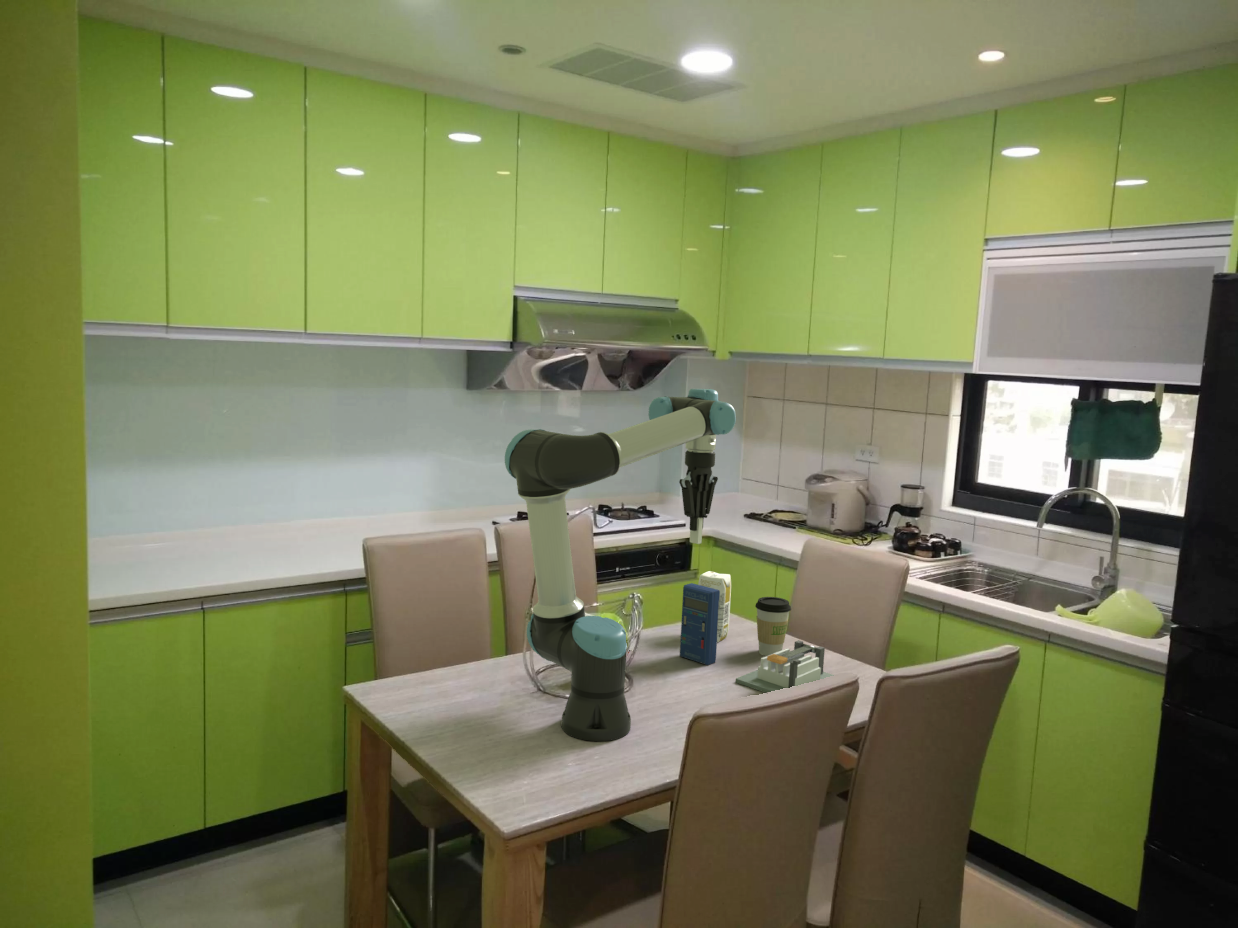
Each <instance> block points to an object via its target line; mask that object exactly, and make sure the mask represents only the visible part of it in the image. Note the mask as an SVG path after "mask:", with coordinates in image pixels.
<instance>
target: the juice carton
mask: <svg viewBox="0 0 1238 928" xmlns="http://www.w3.org/2000/svg"><path fill="white" fill-rule="evenodd" d="M731 578H732V577H731V574H730V573H718V572H715V571H711V570H709V571H706V572H704V573H702V574H699V579H698V583H697V585H701V586H705V587H709V588H713V589H717V590H719V591H720V597H719V607H718V625H717V643H720V642H721V641H723V640H725V639H726V638H727V637H728V633H729V630H730V615H731V614H730V612H731V597H732V596H731V593H732V579H731Z"/></svg>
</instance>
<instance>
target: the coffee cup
mask: <svg viewBox="0 0 1238 928" xmlns="http://www.w3.org/2000/svg"><path fill="white" fill-rule="evenodd" d="M755 608H756V625H757V626H756V628H757V640H758V653H759V654H760V655H761V656H763V657H766V656H768V655H771V654H774V653H776V652H779V651H782V650H783V649H784V643H785V641H786V640H785V639H786V635H787V629H788V624H789V615H790V612H791V611H792V607H791V604H790V601H789V600H787V599H785V598H782V597H776V596H763V597H759V598H758V599H757V602H756V603H755Z"/></svg>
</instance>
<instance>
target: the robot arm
mask: <svg viewBox="0 0 1238 928" xmlns="http://www.w3.org/2000/svg"><path fill="white" fill-rule="evenodd" d="M648 419H649V420H646V421H643V422H640V423H638V424H635V425H631V426H629V427H626V428H622V429H620V430H616V431H613V432H611V433H606V432H604V431H600V432H596V433H593V434H588V435H574V434H565V433H562V432H561V433H559V432H554V431H550V430H549V431H547V430H545V429H541V428H540V429H539V428H538V429H532V428H531V429H525V430H522V431H520V432H518V433H517V434H516V435H515V436H513V438H511V441H510V442H509V443H508V444H507V447H506V448H505V449H506V450H505V453H504V466H505V468H506V471H507V472H508V474H509V475H510V476H511V477H512V478H513V479H515V480H516V485H517V486H516V489H517V495H518V496H519V497H520V498H521V499H523V500H524V501H525V502H526V503H525V504H526V511H527V512H526V513H527V518H528V526H529V527H528V528H529V533H530V535H529V536H530V545H531V550H532V551H531V552H532V559H533V566H534V574H535V583H536V592H537V599H538V600H537V602H536V603H535V604H534V606H533V607H532V614H531V616H530V620H529V621H528V622H527V625H526V638H527V642H528V644H529V647H530V648H531V650H533V652H535V653H536V654H537V655H538V656H540V657H541V658H542V659H544V660H546V661H548V662H552V663H553V664H555V665H558V666H560V667H562V668H563V669H566V670H568V671H570V672H571V673H570V674H571V676H570V679H571V680H570V692H569V696H568V699H567V701H566V704H565V708H564V710H563V712H562V715H561V729H562V731H564V733H566V735H569V736H570V737H573V738H576V739H579V740H584V741H589V742H608V741H614V740H618V739H620V738H623V737H624V736H626V735H628V734H629V733H630V731H631V725H632V724H631V723H632V719H631V715H630V712H629V710H628V703H627V700H626V695H625V679H626V667H627V665H626V662H627V656H626V650H627V643H626V632H625V629H624V628H623V626H622V625H621V624H619V623H618V622H616V621H617V620H614V619H612V618H609V617H602V616H599V615H586V612H585V603H584V601H583V600H582V599H580V598H579V597H578V596H577V592H576V584H575V575H574V565H573V558H572V555H573V554H572V550H571V549H572V548H571V540H570V539H571V538H570V531H569V530H570V529H569V522H568V511H567V504H566V495H568V493H569V492H570V491H571V489H577V488H581V487H585V486H588V485H590V484H593V483H596V482H599V481H603V480H605V479H608V478H609V477H610V478H611V477H613V476H615V475H617V474H618V472H619V471H620V469H621V468H623V467H625V466H628V465H631V464H633V463H635V462H639V461H641V460H644V459H647V458H649V457H652V456H655V455H658V454H660V453H663V452H665V451H668V450H671V449H673V448H676V447H678V446H681V445H684V444H685V449H687V450H686V451H685V452H684V453H685V454H684V455H685V456H684V464H685V466H687V470H686V475H685V477H684V478H680V479H679V481H678V482H679V485H680V487H681V494H682V495H681V496H682V504H683V513H684V516H686V517H687V518H689V543H692V544H697V545H700V544H702V542H703V541H702V540H703V539H702V538H703V529H704V519H707V518H708V516H709V514H710V513H711V508H712V503H713V499H714V493H715V487H716V485H717V482H718V480H719V478H718V476H714V475H713V471H712V468H713V467H715V466H716V464H715V463H716V453H715V450H716V444H717V443H716V441H717V436H720V435H728V434H729V433H730V432H732V430H733V429H734V427H735V425H736V421H737V416H736V410H735V408H734V406H733V405H731V404H730V403H728V402H727V401H721V400H719V392H718V391H717V390H715V389H710V388H709V389H708V388H690V389H689V390H688V394H687V396H686V397H685V396H663V397H662V396H660V397H655V398H654V399H653V400H651V402H650V403H649V406H648Z"/></svg>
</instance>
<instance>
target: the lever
mask: <svg viewBox="0 0 1238 928" xmlns="http://www.w3.org/2000/svg"><path fill="white" fill-rule="evenodd" d="M817 647H818V646H813V645H809V644H806V643H803V644H802V645H801V648H798V649H795V650H794V649H793V650H790V652H787V653H784V654H781V655H776V654H772V655H769V656H767V660H768V661H771V662H774V663H778V664H783V663H786V662H787V661H788V660H791V659H793V658H796V657H799V656H801V655H804V656H805V655H806V654H807V655H808V654H809V653H812V654H816V648H817Z"/></svg>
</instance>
